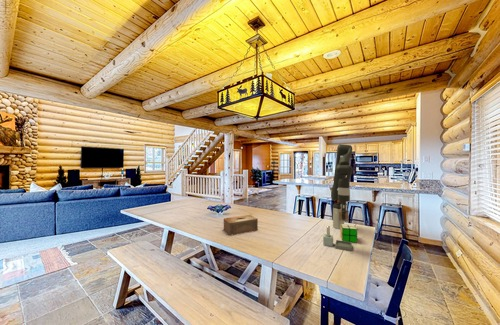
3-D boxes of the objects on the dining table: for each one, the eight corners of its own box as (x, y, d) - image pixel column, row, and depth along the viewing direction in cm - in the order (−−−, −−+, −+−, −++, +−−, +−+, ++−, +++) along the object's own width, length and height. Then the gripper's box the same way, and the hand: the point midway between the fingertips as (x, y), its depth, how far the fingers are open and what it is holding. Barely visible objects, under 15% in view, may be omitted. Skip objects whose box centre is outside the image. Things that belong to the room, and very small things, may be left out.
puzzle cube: (354, 237, 156) (354, 224, 156) (357, 242, 146) (357, 229, 146) (340, 236, 159) (340, 223, 159) (342, 241, 149) (342, 227, 149)
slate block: (324, 241, 148) (324, 233, 148) (333, 243, 145) (333, 235, 145) (323, 245, 143) (323, 236, 143) (332, 246, 140) (332, 238, 140)
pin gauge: (326, 242, 145) (326, 225, 145) (329, 242, 144) (329, 226, 144) (326, 243, 144) (326, 226, 143) (329, 243, 143) (329, 226, 142)
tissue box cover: (229, 235, 162) (229, 223, 162) (223, 229, 175) (223, 218, 175) (257, 230, 174) (257, 218, 174) (250, 225, 187) (250, 214, 187)
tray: (336, 242, 146) (336, 239, 146) (351, 245, 142) (351, 242, 142) (335, 248, 137) (335, 245, 137) (351, 251, 133) (351, 248, 133)
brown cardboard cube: (339, 217, 143) (339, 209, 143) (348, 219, 141) (348, 210, 141) (338, 220, 138) (338, 211, 138) (348, 221, 135) (348, 212, 135)
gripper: (350, 196, 131) (349, 221, 131) (349, 192, 144) (349, 216, 144) (337, 195, 134) (337, 220, 135) (338, 192, 147) (338, 214, 147)
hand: (343, 218), depth 139 cm, fingers closed on brown cardboard cube, 6 cm apart
